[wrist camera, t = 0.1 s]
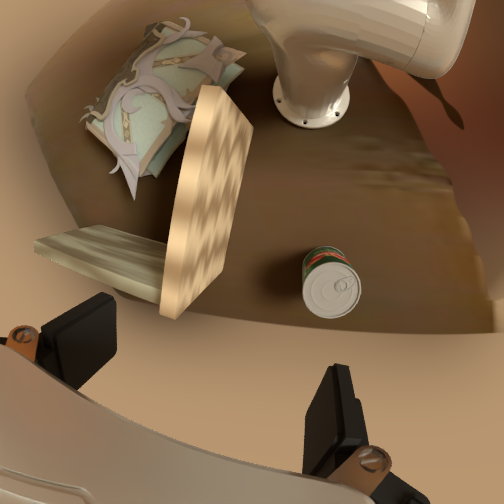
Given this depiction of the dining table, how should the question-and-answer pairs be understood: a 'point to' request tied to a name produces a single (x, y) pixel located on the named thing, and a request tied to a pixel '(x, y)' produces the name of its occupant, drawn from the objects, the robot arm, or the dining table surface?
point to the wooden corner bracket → (173, 218)
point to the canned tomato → (329, 283)
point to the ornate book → (158, 96)
